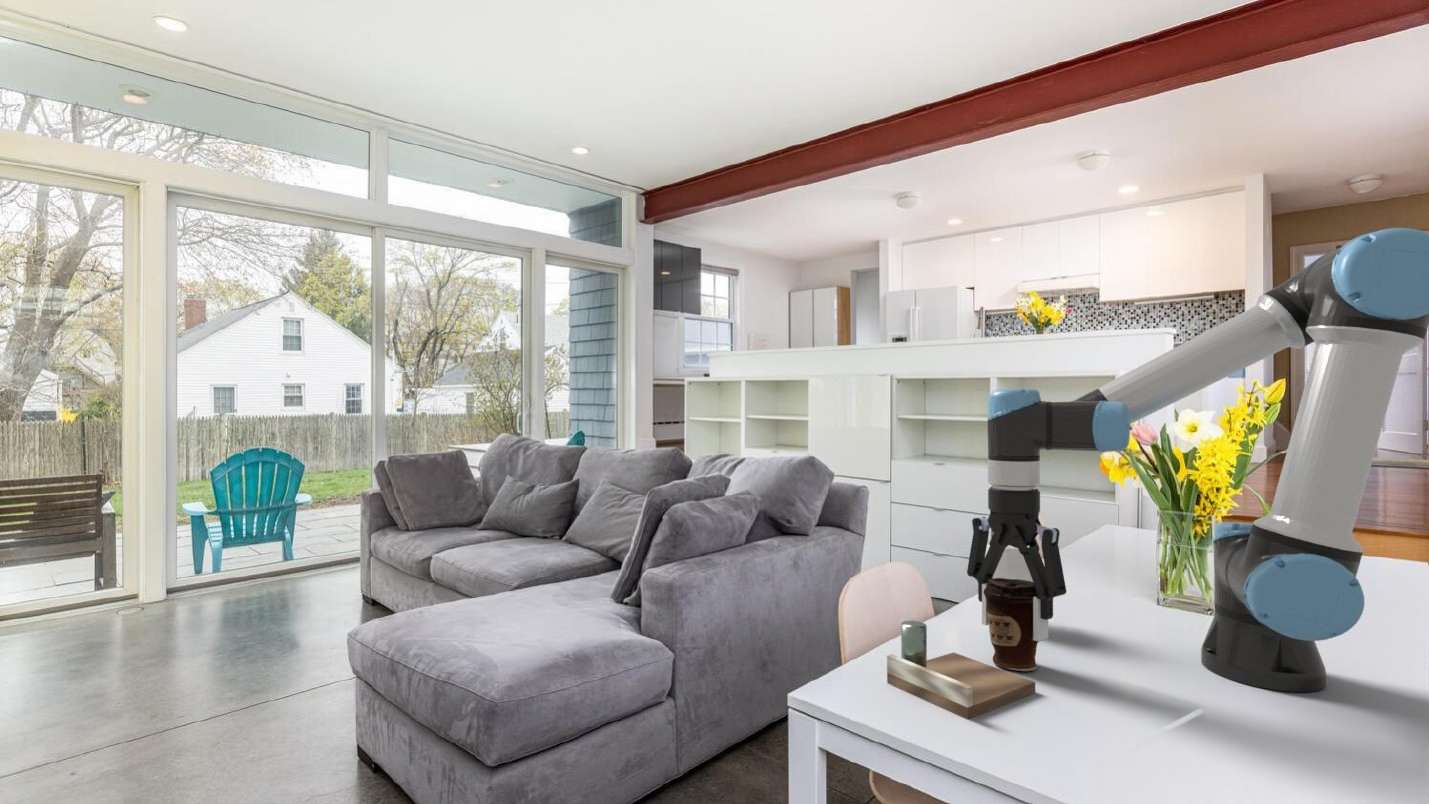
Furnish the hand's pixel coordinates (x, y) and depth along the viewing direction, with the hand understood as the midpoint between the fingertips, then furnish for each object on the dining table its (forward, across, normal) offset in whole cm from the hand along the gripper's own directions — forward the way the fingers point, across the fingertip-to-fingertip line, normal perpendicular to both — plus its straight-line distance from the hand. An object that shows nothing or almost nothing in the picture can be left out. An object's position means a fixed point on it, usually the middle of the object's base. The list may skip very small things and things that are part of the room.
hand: (1014, 630), depth 109 cm
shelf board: (+5, -1, +14) cm, 15 cm away
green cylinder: (+4, +4, +18) cm, 19 cm away
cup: (+6, +13, -17) cm, 22 cm away
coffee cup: (+5, 0, 0) cm, 5 cm away
